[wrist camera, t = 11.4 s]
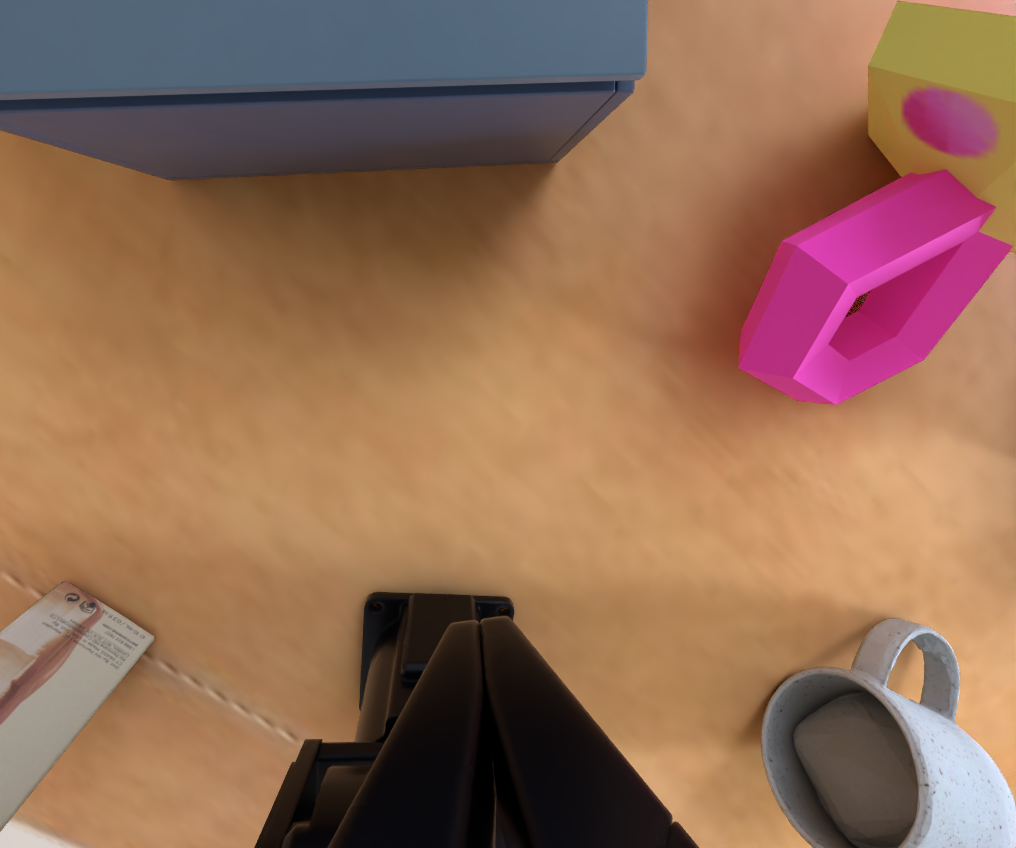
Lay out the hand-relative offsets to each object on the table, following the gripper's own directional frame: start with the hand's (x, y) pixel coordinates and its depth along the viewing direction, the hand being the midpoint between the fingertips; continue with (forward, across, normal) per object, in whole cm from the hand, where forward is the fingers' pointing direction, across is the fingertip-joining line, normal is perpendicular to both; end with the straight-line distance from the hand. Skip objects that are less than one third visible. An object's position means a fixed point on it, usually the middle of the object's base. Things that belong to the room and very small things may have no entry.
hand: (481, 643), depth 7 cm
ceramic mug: (+13, -19, +18) cm, 29 cm away
